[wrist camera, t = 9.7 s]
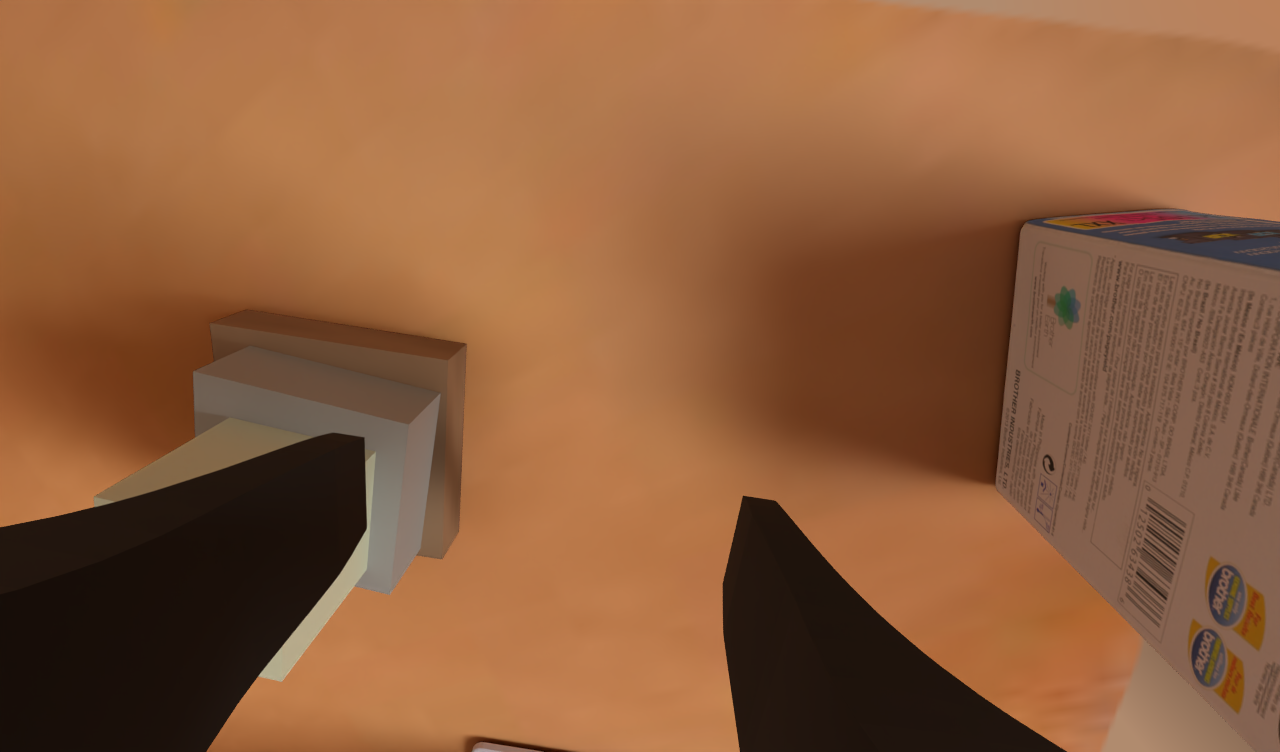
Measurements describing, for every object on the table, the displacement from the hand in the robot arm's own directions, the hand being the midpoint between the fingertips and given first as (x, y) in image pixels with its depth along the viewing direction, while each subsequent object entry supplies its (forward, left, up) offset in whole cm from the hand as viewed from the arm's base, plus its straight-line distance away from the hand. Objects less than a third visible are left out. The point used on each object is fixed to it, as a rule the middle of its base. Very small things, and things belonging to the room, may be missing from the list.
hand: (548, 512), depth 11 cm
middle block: (-5, +9, -9) cm, 13 cm away
